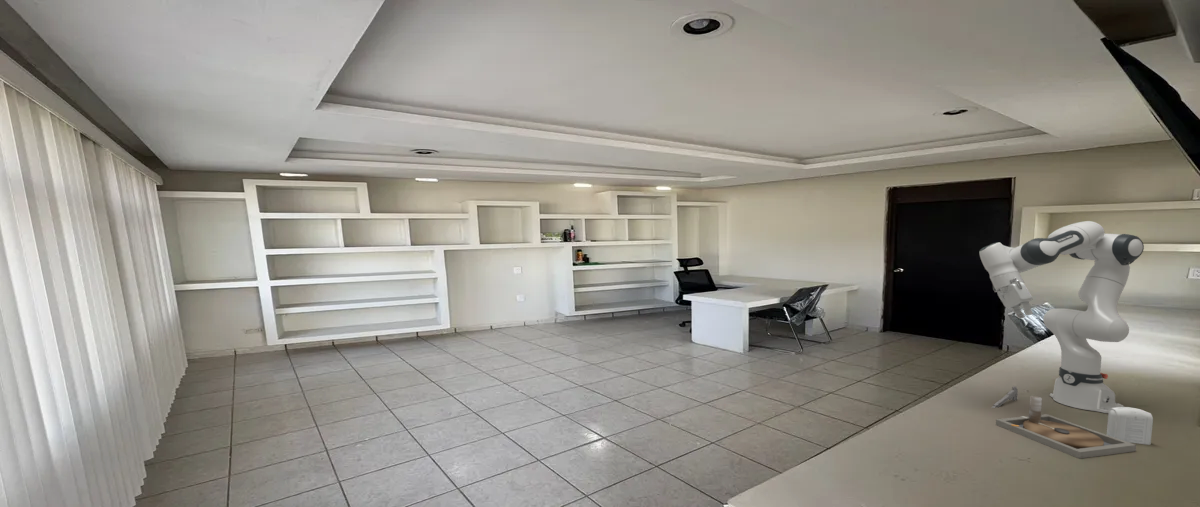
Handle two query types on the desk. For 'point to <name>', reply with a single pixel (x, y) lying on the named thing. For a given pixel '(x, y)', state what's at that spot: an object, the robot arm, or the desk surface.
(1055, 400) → the robot arm
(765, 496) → the desk surface
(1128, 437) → the photo printer
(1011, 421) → the dial base
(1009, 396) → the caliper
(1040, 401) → the dial
